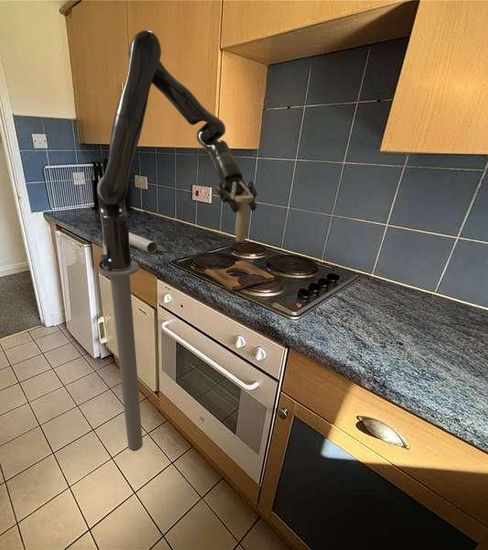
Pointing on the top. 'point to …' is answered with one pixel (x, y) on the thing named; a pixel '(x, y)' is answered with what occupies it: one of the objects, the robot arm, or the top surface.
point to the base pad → (233, 281)
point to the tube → (142, 243)
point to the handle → (242, 216)
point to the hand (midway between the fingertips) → (245, 210)
